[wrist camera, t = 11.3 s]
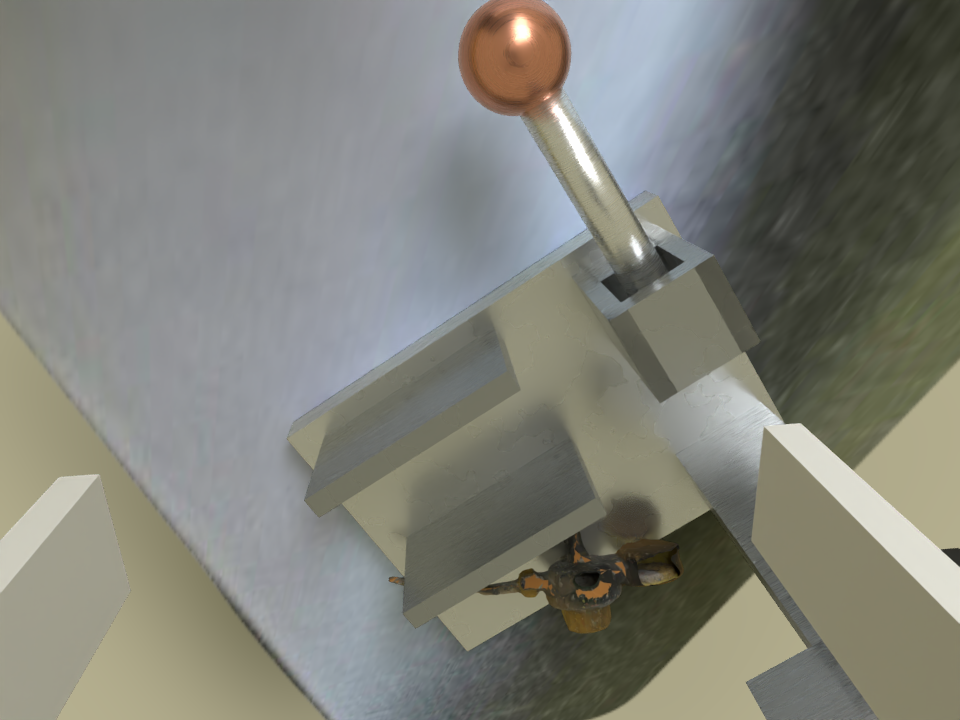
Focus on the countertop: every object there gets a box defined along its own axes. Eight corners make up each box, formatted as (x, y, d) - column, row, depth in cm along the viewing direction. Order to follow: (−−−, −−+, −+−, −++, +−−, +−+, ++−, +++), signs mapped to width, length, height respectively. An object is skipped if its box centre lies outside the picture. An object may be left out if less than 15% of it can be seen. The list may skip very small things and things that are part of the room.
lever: (435, 43, 27) (436, 32, 23) (525, -21, 27) (540, -43, 23) (622, 345, 32) (649, 377, 28) (702, 295, 31) (740, 321, 27)
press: (293, 421, 37) (155, 745, 18) (645, 190, 34) (907, 290, 16) (465, 627, 42) (496, 1047, 23) (784, 439, 39) (1111, 742, 21)
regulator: (390, 629, 38) (668, 612, 39) (388, 657, 34) (697, 637, 35) (387, 484, 38) (663, 473, 39) (384, 496, 34) (691, 482, 35)
